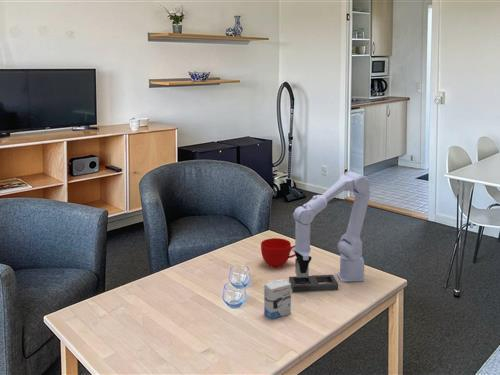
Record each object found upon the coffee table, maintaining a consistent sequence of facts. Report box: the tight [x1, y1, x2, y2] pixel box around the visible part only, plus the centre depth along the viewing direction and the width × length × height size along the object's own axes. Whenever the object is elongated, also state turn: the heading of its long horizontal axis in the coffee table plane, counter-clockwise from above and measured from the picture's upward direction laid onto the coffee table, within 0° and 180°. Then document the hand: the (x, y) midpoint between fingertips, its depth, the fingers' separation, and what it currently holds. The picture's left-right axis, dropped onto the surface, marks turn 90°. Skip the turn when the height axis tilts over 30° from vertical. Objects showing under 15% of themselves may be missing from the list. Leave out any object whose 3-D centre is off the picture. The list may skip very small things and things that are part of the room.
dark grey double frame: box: [288, 274, 339, 293], centre depth 200 cm, size 18×9×2 cm, turn 95°
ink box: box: [263, 278, 292, 320], centre depth 178 cm, size 8×5×12 cm, turn 117°
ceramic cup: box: [260, 237, 296, 269], centre depth 219 cm, size 13×17×10 cm
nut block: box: [294, 258, 310, 277], centre depth 197 cm, size 4×4×6 cm
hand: (302, 270), depth 198 cm, fingers closed on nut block, 4 cm apart
